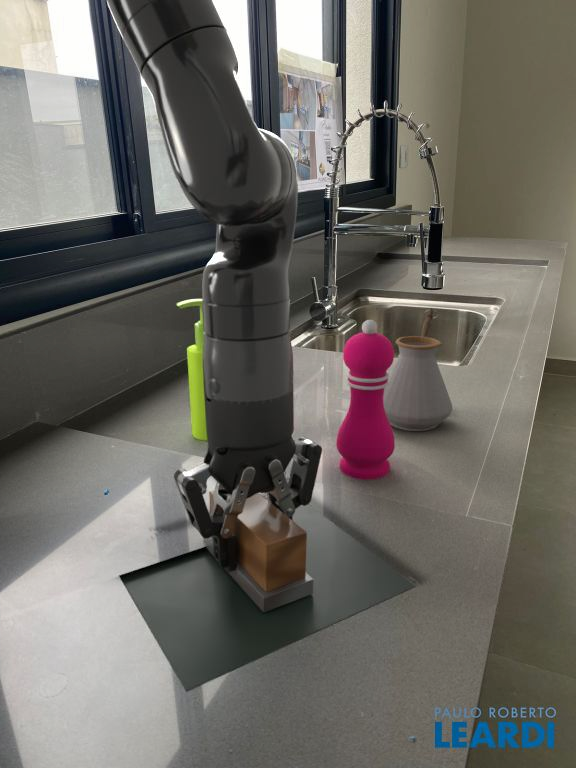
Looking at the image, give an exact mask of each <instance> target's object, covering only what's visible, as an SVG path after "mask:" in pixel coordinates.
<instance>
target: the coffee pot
mask: <svg viewBox="0 0 576 768" xmlns="http://www.w3.org/2000/svg"><path fill="white" fill-rule="evenodd" d="M434 312H435V313H436V314H437V315H436V316H434V315H433V314H434ZM438 316H439V311H437V310H436V309H433V308H432V307H430V308H429V309H426V310H425V311H424V317H425V320H424V322H423V324H422V329H421V334H420V336H417V335H410V336H401V337H398V338H397V339H396V340H395V344H396V345H397V346H398V351H399V354H398V356H397V358H396V360H395V362H394V364H393V366H392V368H391V370H390V371H389V373H388V374H389V378H388V382H389V384H388V386H387V387H385V389H384V395H383V403H384V409H385V413H386V416H387V418H388V421H389V423H390V425H391V427H394V428H397V429H400V430H404V431H408V432H409V431H411V432H412V431H413V432H425V431H430V430H433V429H435V428H437V427H438V426H439V425H440V424H442V423H443V422H444V421H446V420H447V419H448V417H450V415H451V413H452V412H453V403H452V400H451V397H450V395H449V392H448V390H447V389H448V388H447V387H446V384H445V381H444V378H443V375H442V373H441V370H440V368H439V364H438V362H437V359H436V353H437V352H438V351H439V350H440V347H441V346H443V343H442V342H441V341H440V340H439V339H436V338H433V337H428V335H429V332H430V330H431V328H432V320H433V319H436V318H438Z"/></svg>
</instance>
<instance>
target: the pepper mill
mask: <svg viewBox="0 0 576 768" xmlns="http://www.w3.org/2000/svg"><path fill="white" fill-rule="evenodd" d="M377 330H378V324H377V323H376V321H374V320H373V319H367V320H365V321H364V322H363V323H362V324H361V331H362V332H358V333H356V334H354V335H352V336H351V337H350V338H349V339H348V340H347V341H346V342H345V344H344V347H343V352H342V359H343V361H344V364H345V366H346V367H347V368H348V369H349V370H348V371H347V373H346V377H347V379H346V384H347V385H348V386H349V389H350V398H349V400H350V401H349V406H348V409H347V413H346V415H345V417H344V418H343V420H342V423H341V424H340V426H339V429H338V432H337V435H336V444H335V446H336V449H337V451H338V453H339V454H340V456H341V457H342V458H340V460H339V470H340V472H341V473H342V474H343V475H344V476H348V477H349V478H353V479H356V480H357V479H358V480H365V481H366V480H367V481H368V480H377V479H381V478H383V477H385V476H387V475H388V474H389V473H390V471H391V470H390V467H391V463H390V460H388V459H389V458H390V457H391V456H392V455H393V454H394V451H395V448H396V446H395V445H396V444H395V435H394V431H393V428H392V425H391V424H390V423H389V421H388V418H387V416H386V413H385V409H384V403H383V395H384V389H385V387H387V386H388V384H389V382H388V378H389V374H390V373H388V370H389V368H390V367H391V366H392V365H393V363H394V360H395V359H394V358H395V350H394V347H393V346H394V345H393V344H392V342H391V341H390V339H389V338H388V337H386V336H385V335H383V334H381V333H377Z"/></svg>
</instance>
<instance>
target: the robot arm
mask: <svg viewBox="0 0 576 768" xmlns="http://www.w3.org/2000/svg"><path fill="white" fill-rule="evenodd" d="M106 2H107V6H108V8H109V10H110V13H111V15H112V17H113V20H114V22H115V24H116V27H117V29H118V31H119V33H120V35H121V37H122V40H123V41H124V43H125V45H126V47H127V50H128V51H129V53H130V56H131V57H132V59H133V62H134V63H135V65H136V68H137V70H138V72H139V74H140V76H141V78H142V81H143V82H144V84H145V86H146V88H147V89H148V91H149V93H150V94H151V97H152V100H153V104H154V108H155V113H156V119H157V123H158V127H159V130H160V133H161V136H162V140H163V143H164V146H165V150H166V153H167V156H168V160H169V163H170V166H171V169H172V172H173V174H174V176H175V177H174V178H175V179H176V181H177V183H178V185H179V187H180V190H182V193H183V194H184V196H185V197H186V199H187V201H188V202H189V203H190V205H191V206H192V207H193V208H194V210H195V211H197V213H198V214H200V215H201V216H202V217H203V218H204V219H206V220H207V221H209V222H211V223H213V224H215V225H216V235H215V249H214V254H213V255H212V257H211V259H210V260H209V261H208V262H207V264H206V265H205V266H204V269H203V271H202V277H201V299H202V308H203V326H204V345H203V357H202V359H203V380H204V399H205V416H206V434H207V440H208V441H207V450H206V452H205V456H204V458H203V463H201V464H199V465H197V466H195V467H193V468H191V469H189V470H186V469H185V468H179V469H177V470H175V472H174V474H173V480H174V482H175V484H176V487H177V491H178V493H179V494H180V498H181V501H182V504H183V506H184V509H185V511H186V515H187V516H188V520H189V522H190V524H191V526H192V527H193V528H195V529H196V530H197V532H199V534H200V535H201V537H202V538H210V537H211V536H213V546H214V547H213V548H214V557H215V559H216V561H217V562H218V563H219V564H220V565H221V566H222V567H223V568H225V569H226V570H227V571H228V572H231V571H234V570H236V567H237V554H236V536H235V535H234V534H233V531H234V528H235V524H236V521H237V517H238V515H239V514H241V513H242V512H243V508H244V505H245V501H246V499H247V498H250V497H252V496H253V495H255V494H257V493H259V494H267V497H268V499H269V500H268V501H269V502H271V504H273V505H274V506H275V507H276V508H278V509H279V510H280V511H281V512H283V513H284V514H285V515H286V516H287V517H289V518H290V519H291V520H292V521H293V517H292V516H293V514H294V513H295V509H296V508H298V507H299V506H300V505H303V506H306V505H308V504H309V505H310V503H311V501H312V499H313V493H314V490H315V489H314V488H315V484H316V480H317V475H318V471H319V466H320V461H321V457H322V453H323V448H322V446H321V445H319V444H318V443H316V442H314V441H313V440H312V439H310V438H308V437H306V436H304V435H303V436H300V437H299V438H298V439H297V440H294V439H293V433H294V429H295V417H294V415H295V413H294V411H295V410H294V408H295V407H294V404H295V403H294V395H295V394H294V376H295V375H294V352H293V345H292V339H291V330H290V329H291V304H290V303H291V298H290V297H291V295H290V282H289V281H290V279H289V274H290V273H289V271H290V264H291V258H292V251H293V247H294V246H293V245H294V238H295V231H296V222H297V213H298V201H299V184H298V183H299V181H298V171H297V167H296V163H295V159H294V157H293V154H292V152H291V150H290V148H289V147H288V146H287V144H286V143H285V141H284V140H282V139H281V138H280V137H279V136H278V135H276V134H275V133H273V132H271V131H268V130H265V129H263V128H258V126H257V124H256V122H255V121H254V119H253V117H252V115H251V112H250V110H249V107H248V105H247V103H246V101H245V98H244V96H243V93H242V91H241V90H242V89H241V88H240V86H239V84H238V83H239V82H238V78H239V75H240V62H239V57H238V55H237V52H236V48H235V46H234V43H233V40H232V38H231V36H230V33H229V32H228V30H227V27H226V25H225V23H224V20H223V18H222V16H221V14H220V13H219V10H218V8H217V6H216V3H215V1H214V0H106ZM291 461H292V464H291V468H290V469H291V470H290V474H289V479H288V480H287V478H286V475H285V471H286V470H287V468H288V466H289V464H290V463H291ZM210 477H212V478H213V479H214V480H215V481H216V484H215V487H214V489H213V490H214V494H213V500H214V505H213V509H212V512H211V516H210V511H209V509H208V506H207V503H206V500H205V498H204V495H205V494H206V493H207V492H208V491H207V488H208V485H207V483H208V482H207V481H208V479H210ZM230 495H232V496H230Z"/></svg>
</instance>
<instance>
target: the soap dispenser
mask: <svg viewBox="0 0 576 768" xmlns="http://www.w3.org/2000/svg"><path fill="white" fill-rule="evenodd" d="M175 305H176V306H177V307H178V308H179V309H184V308H190V307H199V320H198V321H197V322H196V323H194V338H195V339H194V341H195V344H192V345H189V346H188V347H187V348H186V354H187V355H186V358H187V372H188V373H187V374H188V375H187V376H188V388H189V390H188V392H189V405H190V421H191V424H190V425H191V435H192V437H193V438H194V439H196V440H200V441H204V442H206V441H207V442H208V440H207V434H206V416H205V399H204V380H203V359H202V357H203V345H204V326H203V308H202V298H191V299H185V300H182V301H179V302H176V303H175Z"/></svg>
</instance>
